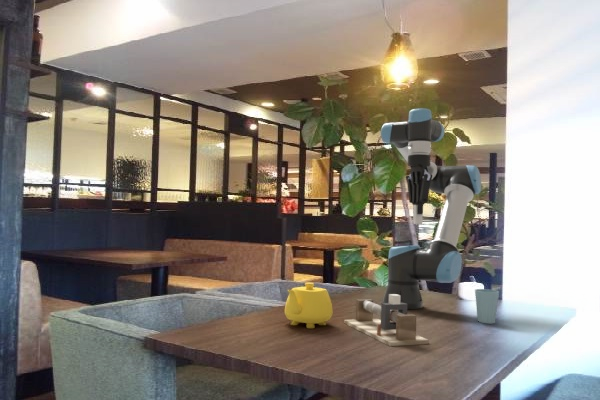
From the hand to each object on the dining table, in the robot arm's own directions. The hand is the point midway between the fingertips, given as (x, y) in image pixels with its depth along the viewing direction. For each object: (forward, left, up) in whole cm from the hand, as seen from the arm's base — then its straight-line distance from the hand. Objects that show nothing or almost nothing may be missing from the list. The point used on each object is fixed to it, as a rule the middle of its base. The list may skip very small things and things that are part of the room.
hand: (417, 223), depth 178 cm
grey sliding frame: (+23, -21, -29) cm, 43 cm away
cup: (+10, +22, -32) cm, 40 cm away
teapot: (+3, -40, -32) cm, 52 cm away
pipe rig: (+17, -21, -32) cm, 42 cm away
